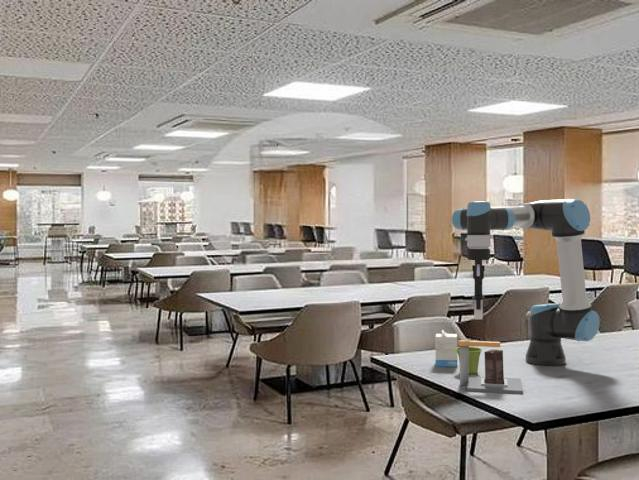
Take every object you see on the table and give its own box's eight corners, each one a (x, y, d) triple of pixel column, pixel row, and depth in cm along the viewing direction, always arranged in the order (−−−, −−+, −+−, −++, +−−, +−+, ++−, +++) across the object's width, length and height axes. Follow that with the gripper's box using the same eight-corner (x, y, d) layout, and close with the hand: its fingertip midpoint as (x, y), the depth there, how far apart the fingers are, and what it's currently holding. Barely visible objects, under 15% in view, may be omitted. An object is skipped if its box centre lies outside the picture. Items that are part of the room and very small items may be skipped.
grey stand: (520, 381, 240) (520, 343, 239) (522, 393, 222) (522, 353, 222) (460, 378, 245) (460, 341, 244) (458, 390, 227) (458, 351, 227)
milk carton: (457, 367, 263) (457, 332, 263) (435, 366, 265) (435, 332, 265) (457, 362, 272) (457, 329, 272) (436, 362, 274) (435, 328, 273)
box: (492, 383, 237) (491, 348, 237) (504, 385, 234) (504, 350, 234) (484, 386, 232) (483, 351, 232) (496, 388, 229) (496, 353, 229)
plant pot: (467, 376, 248) (467, 352, 248) (451, 371, 257) (450, 348, 256) (487, 373, 253) (487, 349, 252) (470, 368, 261) (470, 345, 261)
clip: (500, 345, 234) (500, 341, 234) (500, 347, 230) (500, 343, 230) (458, 344, 238) (458, 339, 238) (458, 346, 234) (458, 341, 234)
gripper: (467, 247, 233) (467, 316, 234) (466, 248, 221) (466, 321, 221) (490, 247, 232) (490, 316, 232) (490, 248, 219) (490, 322, 220)
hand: (478, 319), depth 227 cm, fingers closed
